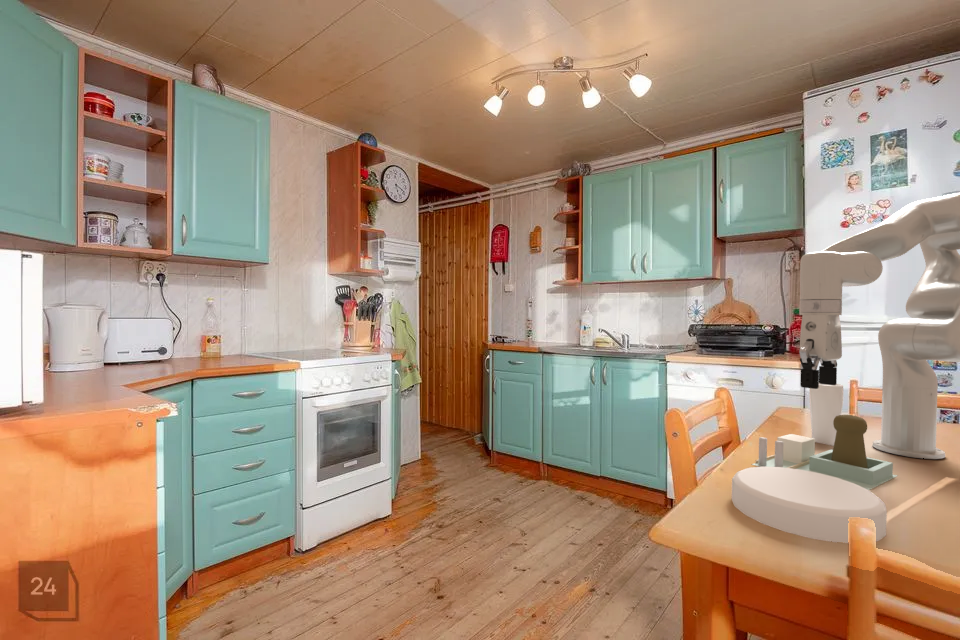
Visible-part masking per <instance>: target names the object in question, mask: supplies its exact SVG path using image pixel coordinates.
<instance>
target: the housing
mask: <svg viewBox="0 0 960 640" xmlns="http://www.w3.org/2000/svg"><path fill="white" fill-rule="evenodd" d="M776 441H782V442H784V446H783V460H785V461H789V462H793V463H797V464H799V463H802V462H805V461H808V460H809V457H810V456H813V455H816V454H815V453H816V452H815V451H816V442H815V439H814V438H812V437H809V436H803V435H798V434H794V433H789V434H786V435H785V434H783V435H781V436H777V440H776Z"/></svg>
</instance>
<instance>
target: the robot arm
mask: <svg viewBox="0 0 960 640" xmlns="http://www.w3.org/2000/svg"><path fill="white" fill-rule="evenodd" d="M918 245H919V247H920V249H921V252H922V255H923V258H924V259H923V260H924V263H925V268H924V270H923V273H922V274H921V276H920V278H919V280H918V282H917V283H916V285H915V286H914V288H913V289H912V291H911V293H910V295H909V297H908V299H907V300H906V303H905V312H906V314H907V315H908V316H909V317H900V318H894V319H891V320H888V321H886V322H885V323H884V324H883V325H882V326H881V327H880V329H879V330H878V334H877V338H878V339H877V340H878V345H879V350H880V354H881V361H882V389H881V390H882V393H881V396H882V397H881V428H880V429H881V432H880V439H875V440H873V441H872V447H873V448H875V449H876V450H879V451H882V452H884V453H889V454H893V455H897V456H903V457H909V458H916V459H923V458H924V459H926V460H942V459H945V458H946V452H945V451H944V450H942V449H940V448H938V447H937V427H938V426H937V425H938V424H937V421H938V419H937V418H938V415H937V414H938V389H939V388H938V387H939V386H938V384H939V383H938V376H937V374H936V372H935V370H934V369H933V368H932V366H931V365H930V363H929V362H928V361H937V362H938V361H939V362H950V363H951V362H952V363H955V362H956V363H960V254H959V252H958V250H960V192H957V193H952V194H946V195H943V196H942V195H941V196H937V197H932V198H926V199H921V200H917V201H914V202H911V203H909V204H907V205H905V206H904V207H902V208H901V209H900V210H898V211H896V212H895V213H893V214H892V215H890V216H889V217H888V218H886V219H885V220H883V221H882V222H880V223H879V224H877V225H875V226H874V227H871V228H869V229H866V230H863V231H861V232H859V233H857V234H854V235H853V236H849V237H848V238H845V239H842V240H840V241H837V242H835V243H833V244H832V245H829V246H827V247H826V248H824V249H822V250H820V251H813V252H807V253H805V254H804V255H802V256H801V258H800V265H799V271H800V272H799V309H798V310H799V312H798V313H799V316H802V317H801V324H800V335H799V337H800V338H799V356H800V357H799V361H800V365H799V367H800V387H801V388H805V389H810V388H812V389H818V388H819V383H820V384H827V385H836V384H838V383H837V380H838V379H837V374H838V373H837V371H838V368H837V367H838V361H837V360H840V359H841V358H842V356H843V348H842V347H843V346H842V345H843V343H842V327H841V324H842V323H841V318H840V316H842V315H843V314H842V313H843V287H844V288H845V287H847V288H848V287H860V286H867V285H869V284H872V283H874V282H875V281H877V280H879V278H880V276H881V275H882V273H883V263H882V262H884V261H889V260H892V259H895V258H897V257H898V258H899V257H902V256H903V255H905V254H906V253H908V252H909V251H911V250H912V249H913V248H915V247H916V246H918ZM819 364H820V365H821V366H820V365H819Z"/></svg>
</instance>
